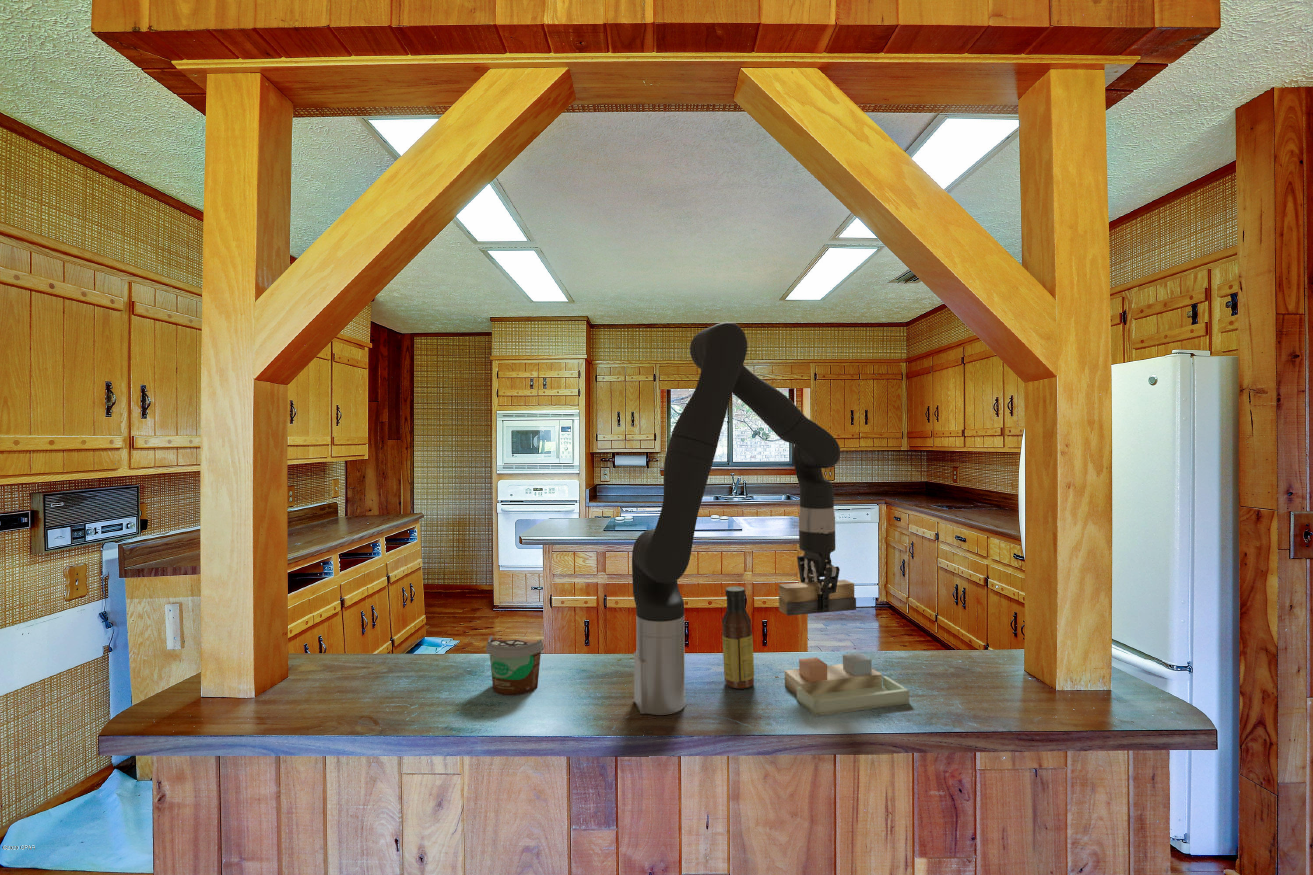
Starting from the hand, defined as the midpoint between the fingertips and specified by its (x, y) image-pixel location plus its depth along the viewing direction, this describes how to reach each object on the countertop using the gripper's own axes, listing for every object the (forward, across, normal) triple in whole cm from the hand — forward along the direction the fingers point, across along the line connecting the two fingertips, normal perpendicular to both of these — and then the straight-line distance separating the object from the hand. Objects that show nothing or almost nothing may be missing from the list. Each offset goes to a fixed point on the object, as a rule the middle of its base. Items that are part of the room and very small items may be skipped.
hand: (817, 608), depth 124 cm
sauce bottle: (+15, -1, -18) cm, 23 cm away
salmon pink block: (+12, +6, -5) cm, 14 cm away
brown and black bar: (0, 0, 0) cm, 0 cm away
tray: (+15, +12, 0) cm, 19 cm away
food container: (+15, -10, -64) cm, 66 cm away
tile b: (+12, +7, +5) cm, 14 cm away
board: (+15, +6, 0) cm, 16 cm away
